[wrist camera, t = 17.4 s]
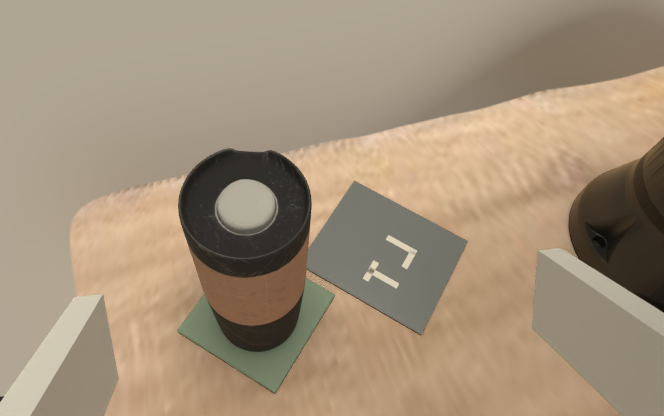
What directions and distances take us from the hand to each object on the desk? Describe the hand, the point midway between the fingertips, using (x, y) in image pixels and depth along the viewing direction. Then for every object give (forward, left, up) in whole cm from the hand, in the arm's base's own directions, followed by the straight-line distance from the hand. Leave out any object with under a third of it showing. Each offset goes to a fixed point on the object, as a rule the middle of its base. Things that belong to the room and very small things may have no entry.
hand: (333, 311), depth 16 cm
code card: (+1, -18, -31) cm, 36 cm away
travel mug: (+8, -6, -31) cm, 33 cm away
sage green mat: (+8, -6, -31) cm, 33 cm away
